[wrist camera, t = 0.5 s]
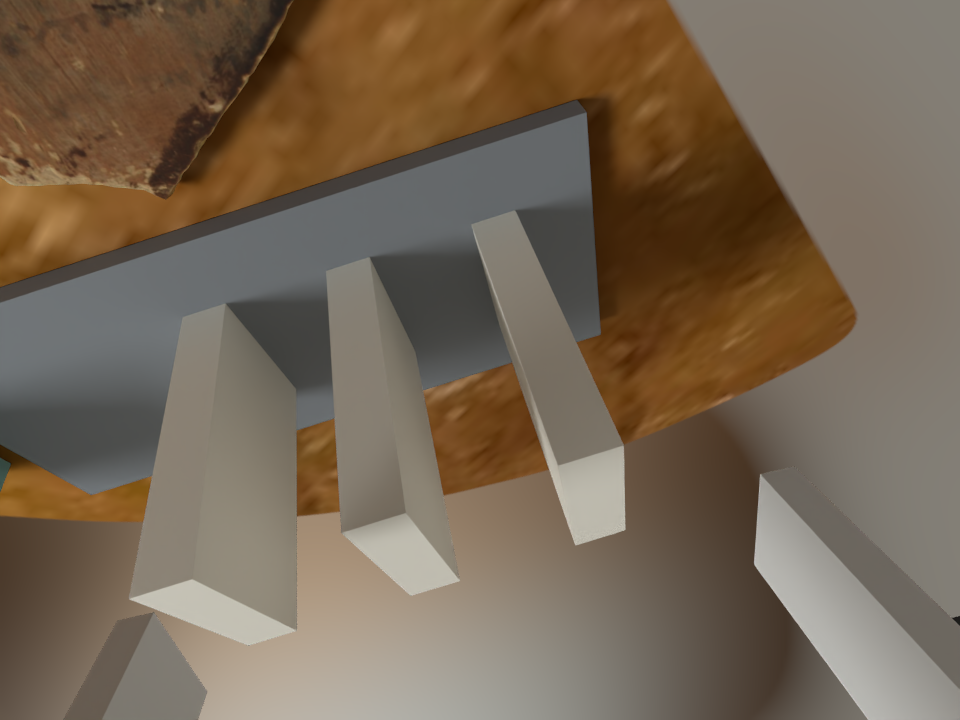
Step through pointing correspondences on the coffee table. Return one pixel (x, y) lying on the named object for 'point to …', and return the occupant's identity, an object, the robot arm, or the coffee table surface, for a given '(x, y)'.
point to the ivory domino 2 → (384, 437)
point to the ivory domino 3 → (554, 383)
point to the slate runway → (293, 291)
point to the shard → (121, 85)
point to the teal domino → (3, 471)
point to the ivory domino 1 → (223, 488)
